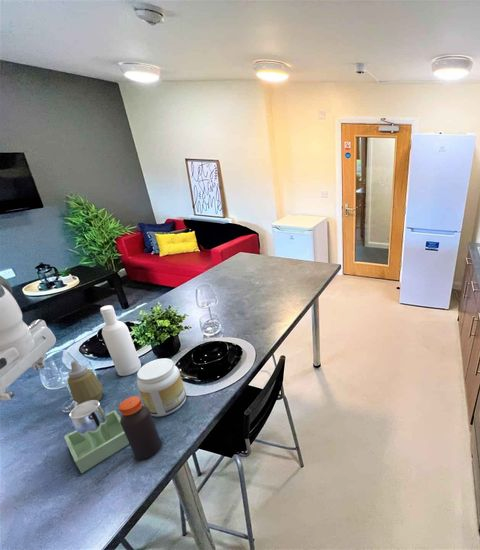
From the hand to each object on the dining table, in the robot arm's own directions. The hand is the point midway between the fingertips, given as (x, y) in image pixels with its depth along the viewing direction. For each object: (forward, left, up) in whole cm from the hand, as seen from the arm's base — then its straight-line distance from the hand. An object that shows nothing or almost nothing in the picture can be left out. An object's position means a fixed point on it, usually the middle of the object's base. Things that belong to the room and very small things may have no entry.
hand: (24, 382), depth 75 cm
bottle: (+24, +28, -30) cm, 48 cm away
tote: (+7, -4, -29) cm, 30 cm away
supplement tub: (+26, -3, -30) cm, 40 cm away
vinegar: (+15, -17, -30) cm, 37 cm away
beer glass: (+7, -4, -29) cm, 30 cm away
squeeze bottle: (+10, +20, -30) cm, 37 cm away
